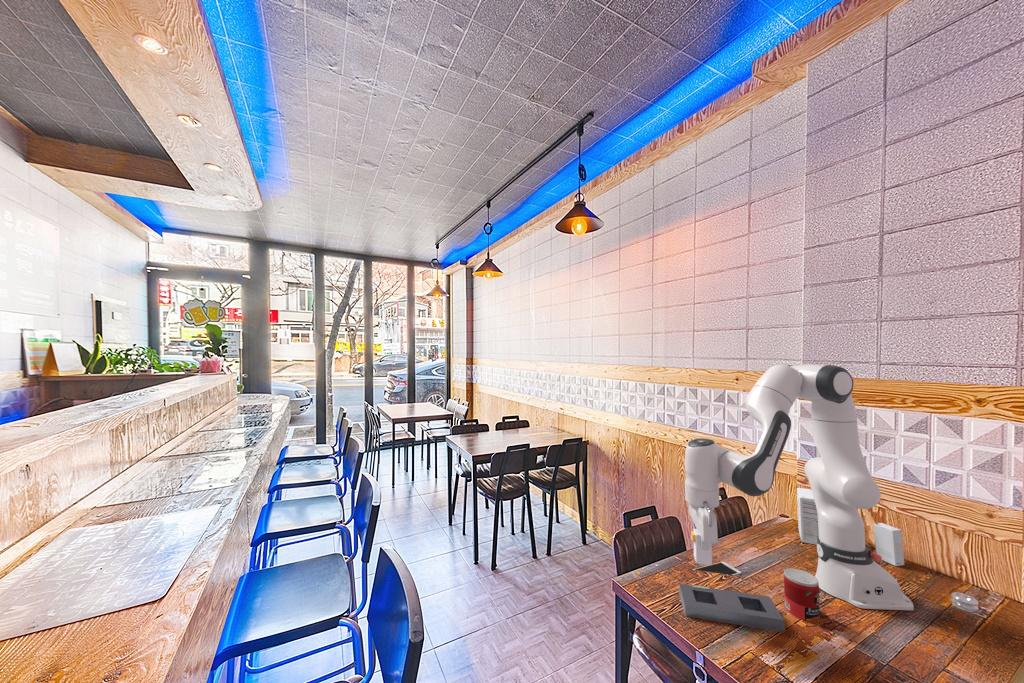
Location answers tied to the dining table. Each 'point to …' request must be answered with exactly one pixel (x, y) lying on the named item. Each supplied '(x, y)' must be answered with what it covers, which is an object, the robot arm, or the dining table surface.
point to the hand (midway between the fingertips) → (702, 544)
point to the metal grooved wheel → (965, 602)
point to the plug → (700, 554)
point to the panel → (731, 607)
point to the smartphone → (720, 568)
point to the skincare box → (889, 544)
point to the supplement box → (807, 516)
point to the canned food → (802, 595)
